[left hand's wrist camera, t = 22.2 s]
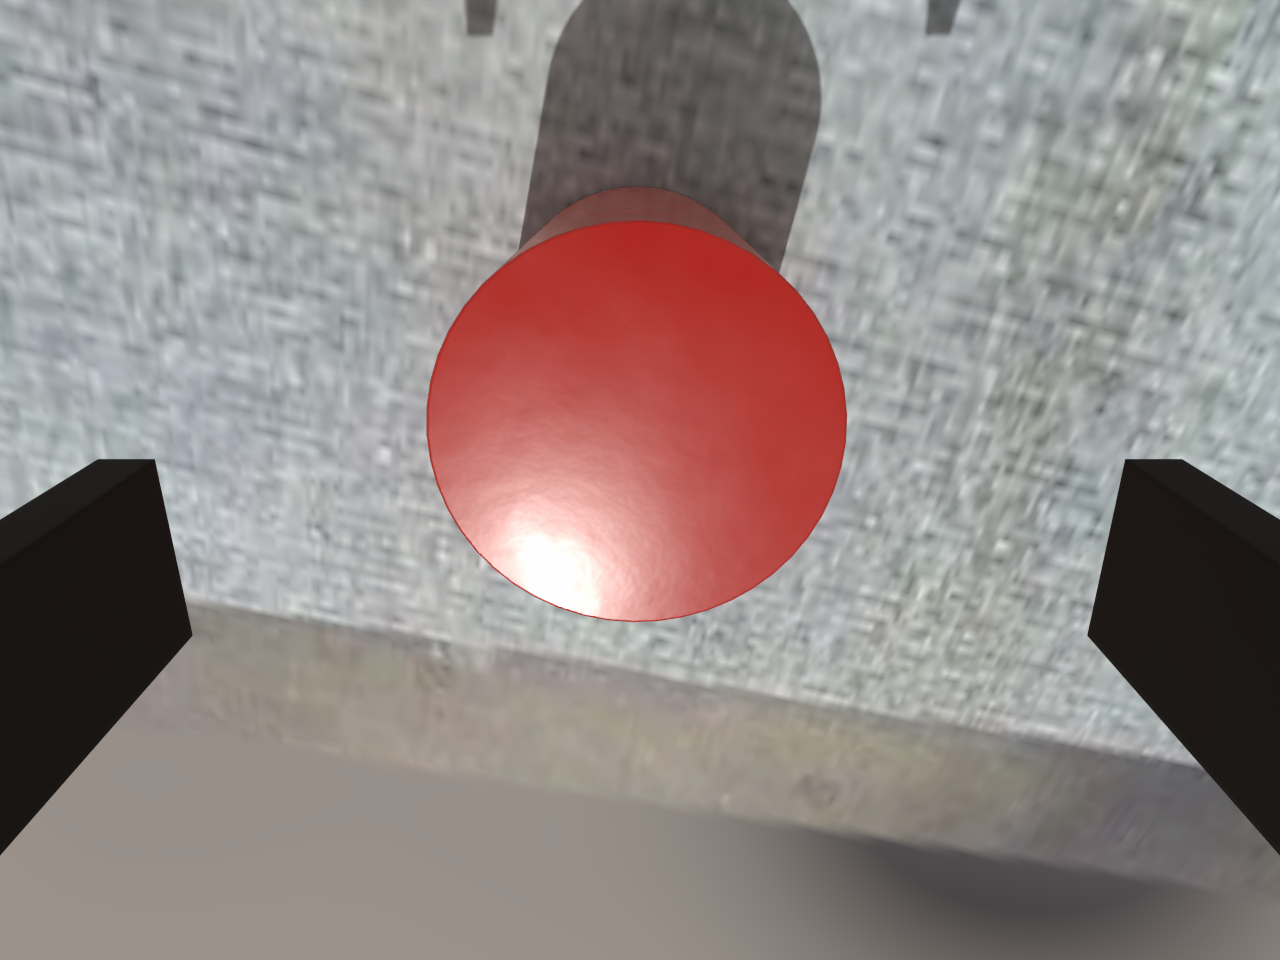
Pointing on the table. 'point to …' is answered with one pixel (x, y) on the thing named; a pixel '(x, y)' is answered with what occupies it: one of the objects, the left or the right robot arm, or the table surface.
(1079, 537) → the table surface
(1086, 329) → the table surface
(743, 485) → the tin
